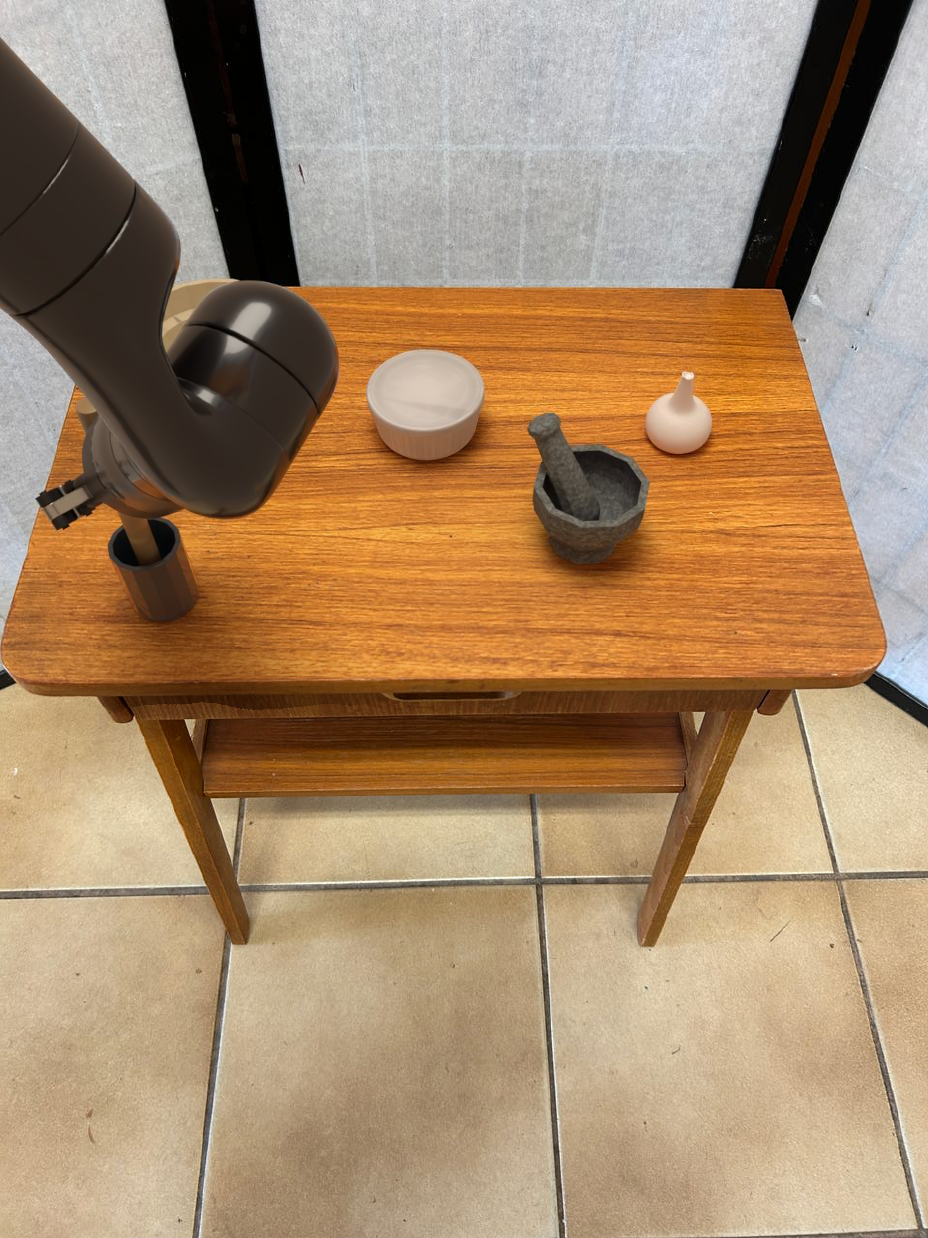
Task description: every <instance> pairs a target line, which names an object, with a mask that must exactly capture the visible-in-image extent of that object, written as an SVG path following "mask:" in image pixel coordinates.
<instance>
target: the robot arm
mask: <svg viewBox="0 0 928 1238" xmlns="http://www.w3.org/2000/svg"><path fill="white" fill-rule="evenodd" d="M181 254H182V243H181V239H180V236H179V233H178V230H177V229H176V226H175V224H173V222H172V220H171V218H170V217H169V216H168V215H167V214H166V212H165V211H164V210H163V208H162V207H161V206H160V205H159V204H158V202H157V201H156V200H154V198H153V197H152V196H151V195H150V194H149V193H148V192H147V190H145V189H144V188H143V187H142V186H141V184H140V183H139V182H138V181H137V180H136V179H135V178H133V176H132V175H131V173H129V172H128V170H127V169H126V168H124V166H123V165H122V164H121V163H120V162H119V161H118V160H117V159H116V158H115V157H114V156H113V155H112V154H111V153H110V151H109V150H108V149H107V148H106V147H105V146H104V145H103V144H102V143H101V142H100V141H99V140H98V138H97V137H95V135H93V134H92V132H91V131H89V129H88V128H87V127H86V126H85V125H84V124H83V123H82V122H81V121H80V120H79V118H77V117H76V115H75V114H74V113H73V112H72V111H71V110H70V109H69V108H68V107H67V106H66V105H65V104H64V103H63V102H62V101H61V100H60V99H59V98H58V96H56V94H54V92H53V91H51V89H50V88H48V86H47V85H46V84H45V83H44V82H43V80H41V79H40V78H39V77H38V76H37V74H35V73H34V72H33V71H32V70H31V68H30V67H29V66H28V65H27V63H25V62H24V61H23V59H21V58H20V56H18V54H16V52H15V51H14V50H13V48H11V47H10V46H9V44H8V43H6V41H5V40H4V39H3V38H2V37H1V36H0V310H1V311H2V312H4V313H5V314H8V316H9V317H10V318H12V319H13V320H14V321H15V322H16V323H17V324H19V326H21V327H22V328H23V329H25V331H27V332H28V333H29V334H30V335H31V336H32V337H33V338H34V339H35V340H36V341H38V343H39V344H40V345H41V346H42V347H43V348H44V349H45V350H46V351H47V353H49V355H50V356H51V357H52V358H53V359H54V361H56V363H57V364H58V365H59V366H60V367H61V369H62V370H63V371H64V372H65V373H66V375H67V376H68V377H69V379H71V381H72V382H73V383H74V385H75V386H76V387H77V388H78V390H79V391H80V392H81V393H82V395H83V396H84V397H86V398H87V399H88V401H89V402H90V403H91V405H92V406H93V407H94V409H95V410H96V411H97V413H98V414H99V416H98V417H97V418H96V419H95V420H94V421H93V423H92V424H91V425H90V427H89V429H88V431H87V433H86V434H85V436H84V439H83V442H82V448H81V464H82V471H83V473H81V474H80V475H78V476H76V477H75V479H73V480H72V479H68V480H66V481H65V482H63V483H62V484H60V485H58V486H56V487H54V488H51V489H49V490H46V489H45V490H42V491H41V492H39V493H38V496H37V497H35V501H36V502H37V504H38V505H39V506H40V508H41V510H42V512H43V513H44V514H45V516H46V517H47V519H48V520H49V522H50V523H51V525H52V527H54V529H55V530H56V531H60V530H62V531H65V530H66V529H68V528H70V527H71V525H70V524H72V523H74V522H76V521H77V520H79V519H81V518H83V517H84V516H85V517H86V518H87V517H89V516H91V515H93V511H95V510H97V507H99V506H104V505H106V506H108V507H109V508H110V509H112V510H114V511H116V512H117V511H118V512H120V513H122V514H125V515H128V516H131V517H136V518H143V519H153V518H160V517H161V518H165V517H168V516H170V515H173V514H175V513H179V512H182V511H184V510H186V511H188V512H190V513H192V514H194V515H197V516H201V517H205V518H209V519H214V520H234V519H235V520H236V519H241V518H246V517H248V516H250V515H253V514H255V513H256V512H258V511H259V510H261V509H262V508H263V507H265V505H266V504H267V503H268V501H269V500H270V499H271V498H272V496H273V495H274V494H275V493H276V490H277V489H278V487H279V486H280V484H281V483H282V481H283V479H284V477H285V476H286V474H287V472H288V471H289V468H290V466H291V465H292V464H293V462H294V461H295V459H296V457H297V456H298V454H299V452H300V451H301V449H302V447H303V446H304V444H305V443H306V441H307V440H308V437H309V436H310V434H311V432H312V431H313V429H314V427H315V426H316V425H317V422H318V420H319V419H320V418H321V416H322V415H323V413H324V411H325V410H326V408H327V406H328V405H329V403H330V401H331V399H332V397H333V395H334V393H335V391H336V389H337V385H338V382H339V376H340V369H341V368H340V367H341V366H340V364H341V363H340V362H341V361H340V354H339V349H338V344H337V342H336V339H335V336H334V334H333V332H332V330H331V329H330V326H329V325H328V323H327V322H326V320H325V319H324V317H323V316H322V315H321V313H320V312H319V311H318V310H317V309H316V308H315V307H314V306H313V305H312V304H311V303H309V302H308V301H307V300H306V299H305V298H304V297H302V296H301V295H299V294H298V293H296V292H294V291H292V290H291V289H289V288H286V287H284V286H282V285H279V284H276V283H271V282H268V281H264V280H253V279H245V280H243V279H241V280H240V281H234V282H230V283H226V284H224V285H221V286H219V287H217V288H215V289H213V290H212V291H210V292H209V293H208V294H207V295H205V296H204V298H203V299H202V300H201V301H200V303H199V304H198V305H197V307H196V308H195V310H194V311H193V313H192V314H191V316H190V317H189V318H188V320H187V321H186V323H185V324H184V326H183V327H182V329H181V330H180V332H179V333H178V335H177V337H176V338H175V340H174V341H173V343H172V344H171V346H170V347H169V349H168V351H167V352H166V351H165V348H164V344H163V338H162V331H163V320H164V316H165V311H166V307H167V304H168V300H169V297H170V294H171V291H172V288H173V287H174V286H175V282H176V279H177V275H178V272H179V268H180V264H181ZM118 512H117V513H118Z"/></svg>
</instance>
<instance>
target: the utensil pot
mask: <svg viewBox="0 0 928 1238" xmlns="http://www.w3.org/2000/svg"><path fill="white" fill-rule="evenodd" d="M147 521H148V524H149V527H150V529H151V532H152V534H153V537H154V540H155V542H156V545H157V548H158V550H159V553H160V556H161V558H162V560H161V561H159V562H156V563H154V564H151V565H149V566H140V565H139V563H138V560H137V558H136V555H135V553H134V551H133V548H132V546H131V543H130V541H129V538H128V536H127V534H126V531H125V529H124V526H123V524H121V525H120V526H119V527H118V528H116V529H115V530H114V531H113V532H112V534H111V536H110V538H109V540H108V542H107V553H108V558H109V559H110V563H111V564H112V566H113V568H114V571H115V573H116V575H117V578H118V579H119V582H120V584H121V586H122V588H123V590H124V592H125V595H126V597H127V599H128V600H129V601H128V602H129V603H130V605H131V607H132V608H133V610H134V612H135V613H136V614H137V615H138V616H140V618H142V619H144V620H146V621H149V622H154V623H165V622H166V623H167V622H171V621H175V620H177V619H179V618H182V617H183V616H184V615H187V613H189V612H190V610H192V609H193V608H194V606H195V605H196V603H197V601H198V598H199V595H200V589H199V588H200V587H199V584H198V581H197V577H196V574H195V571H194V568H193V566H192V563H191V560H190V557H189V554H188V551H187V549H186V546H185V543H184V540H183V537H182V534H181V532H180V529H179V527H178V526H176V525H175V524H174V523H173V522H172V521H171V520H170V519H167V518H165V517H160V518H153V519H147Z"/></svg>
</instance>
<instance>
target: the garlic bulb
mask: <svg viewBox="0 0 928 1238" xmlns="http://www.w3.org/2000/svg"><path fill="white" fill-rule="evenodd" d="M694 379H695V373H693V371H691V372H688V371H682V373H681V377H680V379H679V380H678V384H677V385H676V388H675V390H674V392H670V393H667V394H664V395H662V396H660V397H659V398H657V399H656V400H655V401H654V402H653V403H652V404H651V406H650V407H649V409H648V410H647V413H646V416H645V422H644V427H645V433H646V435H647V437H648V439H649V441H650V443H652V444H653V445H654V446H655V447H656V448H657V449H659V450H661V451H663V452H666V453H669V454H675V455H684V454H689V453H692V452H694V451H696V450H698V449H700V448H701V447H702V446H703V445H704V444H705V443H706V442H707V440H708V439H709V437H710V435H711V432H712V428H713V419H712V418H713V417H712V414H711V410H710V409H709V407H708V406H707V404H706V403H705V401H702V399H700V398H699V397H698V396H696V395H694Z"/></svg>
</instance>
